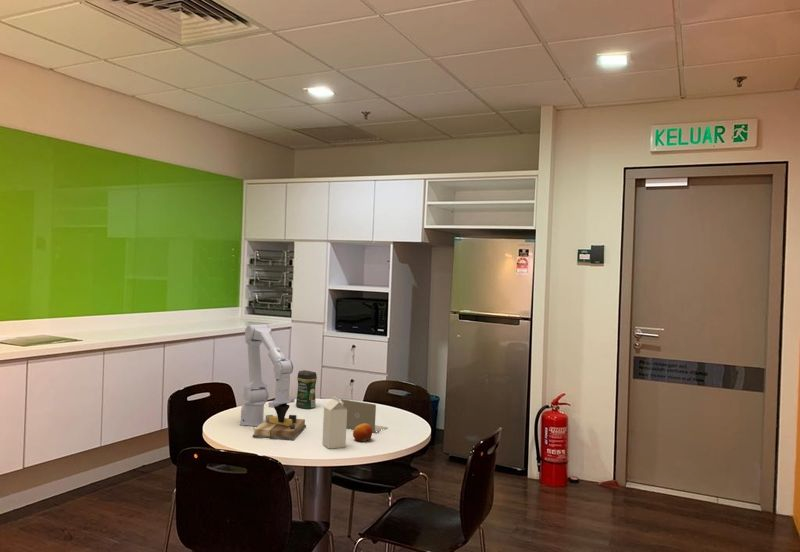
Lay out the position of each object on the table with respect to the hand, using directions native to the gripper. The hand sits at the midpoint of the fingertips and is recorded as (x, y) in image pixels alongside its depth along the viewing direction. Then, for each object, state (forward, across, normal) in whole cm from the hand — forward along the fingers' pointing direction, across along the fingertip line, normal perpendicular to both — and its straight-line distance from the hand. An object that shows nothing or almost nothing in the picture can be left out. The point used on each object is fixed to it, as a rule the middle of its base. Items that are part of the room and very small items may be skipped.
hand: (280, 422), depth 246 cm
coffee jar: (+5, +48, +23) cm, 53 cm away
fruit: (+5, +14, -32) cm, 35 cm away
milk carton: (+5, -1, -27) cm, 28 cm away
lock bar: (+1, +2, +3) cm, 4 cm away
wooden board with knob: (+5, +2, +2) cm, 6 cm away
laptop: (+6, +31, -22) cm, 38 cm away
